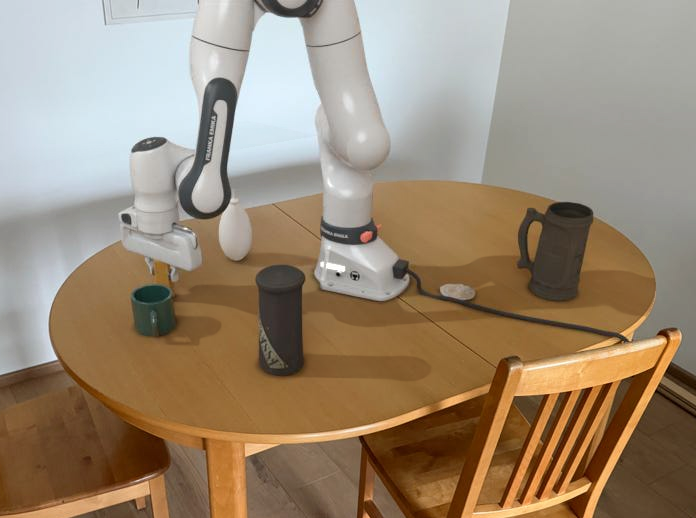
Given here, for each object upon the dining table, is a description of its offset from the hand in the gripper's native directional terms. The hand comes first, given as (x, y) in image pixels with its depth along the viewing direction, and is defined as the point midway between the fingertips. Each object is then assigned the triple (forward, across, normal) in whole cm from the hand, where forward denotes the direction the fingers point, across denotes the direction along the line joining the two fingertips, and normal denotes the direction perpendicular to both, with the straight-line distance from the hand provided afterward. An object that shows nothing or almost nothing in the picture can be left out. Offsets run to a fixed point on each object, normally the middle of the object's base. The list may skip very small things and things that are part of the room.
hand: (164, 277), depth 156 cm
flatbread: (+5, -53, -38) cm, 65 cm away
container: (+5, -36, +7) cm, 37 cm away
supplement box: (+5, 0, 0) cm, 5 cm away
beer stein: (+5, -68, -52) cm, 86 cm away
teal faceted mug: (+5, -7, +11) cm, 14 cm away
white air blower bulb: (+5, -1, -24) cm, 25 cm away
